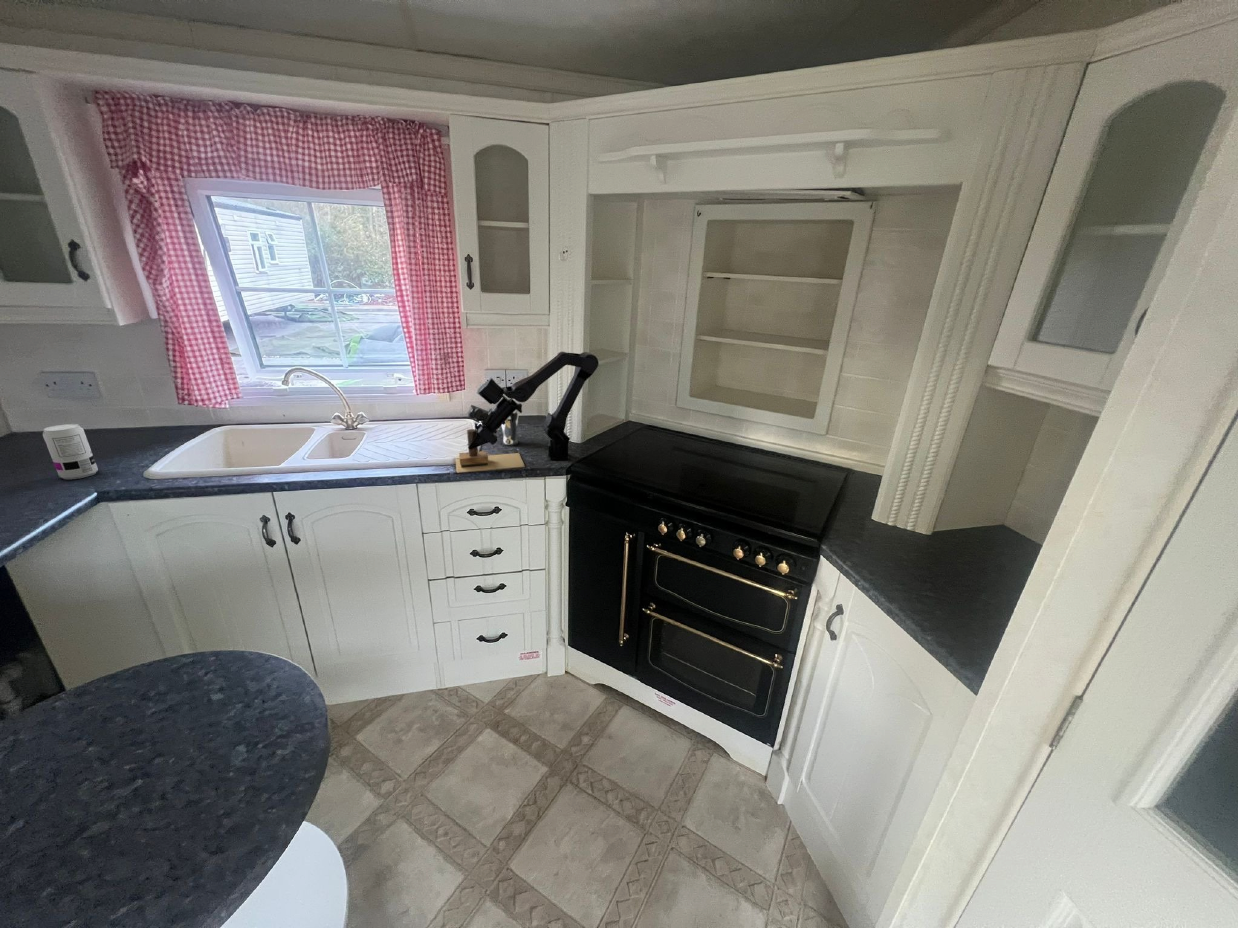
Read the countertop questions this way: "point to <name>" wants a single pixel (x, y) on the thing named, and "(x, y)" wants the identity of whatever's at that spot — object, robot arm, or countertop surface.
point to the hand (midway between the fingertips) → (468, 447)
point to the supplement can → (70, 451)
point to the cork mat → (494, 463)
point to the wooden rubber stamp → (473, 454)
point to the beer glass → (510, 430)
